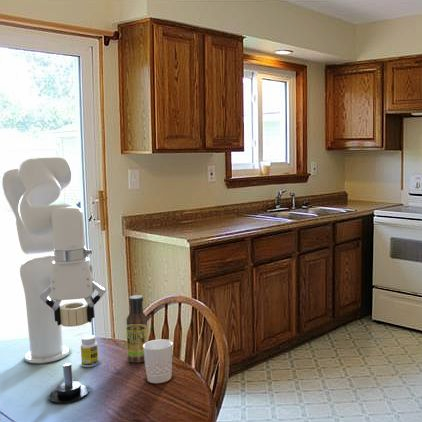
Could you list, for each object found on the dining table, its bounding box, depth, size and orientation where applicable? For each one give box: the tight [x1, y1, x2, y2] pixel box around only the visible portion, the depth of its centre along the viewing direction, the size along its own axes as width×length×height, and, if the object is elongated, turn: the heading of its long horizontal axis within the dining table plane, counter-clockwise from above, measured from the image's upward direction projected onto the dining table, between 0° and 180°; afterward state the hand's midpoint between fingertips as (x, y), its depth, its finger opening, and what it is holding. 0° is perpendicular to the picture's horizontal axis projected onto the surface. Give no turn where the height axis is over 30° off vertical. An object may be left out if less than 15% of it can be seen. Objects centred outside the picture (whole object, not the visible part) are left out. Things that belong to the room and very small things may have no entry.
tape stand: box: [48, 362, 90, 405], centre depth 140 cm, size 10×10×8 cm
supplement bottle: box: [80, 334, 99, 368], centre depth 160 cm, size 5×5×8 cm
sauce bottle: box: [125, 294, 149, 364], centre depth 162 cm, size 6×6×20 cm
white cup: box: [143, 338, 173, 384], centre depth 149 cm, size 8×8×10 cm
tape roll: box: [60, 301, 89, 328], centre depth 139 cm, size 7×7×4 cm
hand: (75, 321), depth 139 cm, fingers closed on tape roll, 6 cm apart
